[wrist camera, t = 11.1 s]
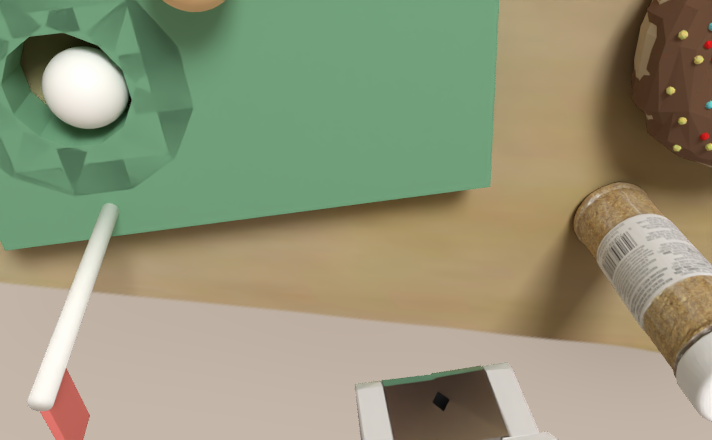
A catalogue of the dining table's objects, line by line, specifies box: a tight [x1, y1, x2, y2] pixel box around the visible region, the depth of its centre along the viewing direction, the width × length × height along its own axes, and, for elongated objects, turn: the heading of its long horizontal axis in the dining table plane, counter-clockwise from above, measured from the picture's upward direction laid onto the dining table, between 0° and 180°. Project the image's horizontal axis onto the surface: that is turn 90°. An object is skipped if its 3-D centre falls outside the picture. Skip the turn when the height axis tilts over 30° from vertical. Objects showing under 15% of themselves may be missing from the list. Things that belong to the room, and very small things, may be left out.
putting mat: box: [0, 0, 499, 440], centre depth 24 cm, size 17×24×14 cm
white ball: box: [42, 46, 130, 129], centre depth 28 cm, size 4×4×4 cm
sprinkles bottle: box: [574, 182, 712, 422], centre depth 32 cm, size 5×5×14 cm
